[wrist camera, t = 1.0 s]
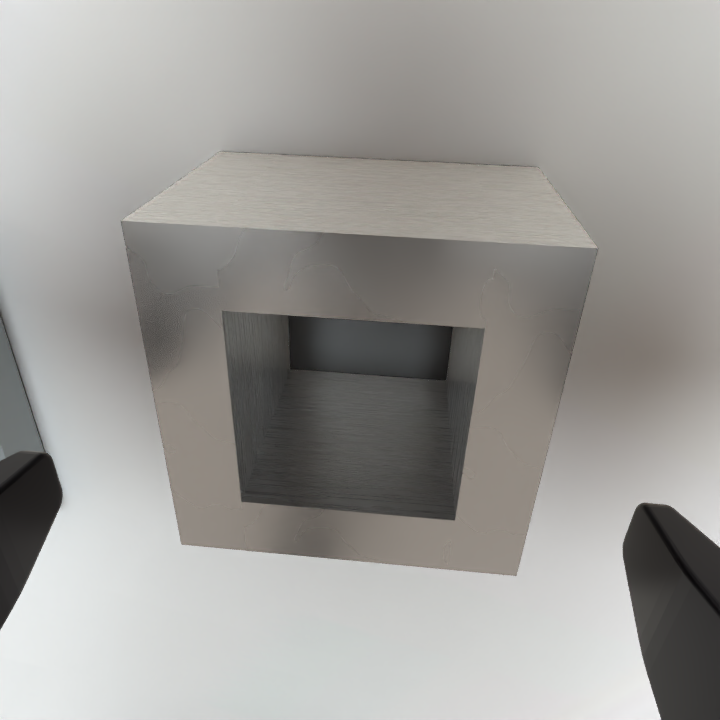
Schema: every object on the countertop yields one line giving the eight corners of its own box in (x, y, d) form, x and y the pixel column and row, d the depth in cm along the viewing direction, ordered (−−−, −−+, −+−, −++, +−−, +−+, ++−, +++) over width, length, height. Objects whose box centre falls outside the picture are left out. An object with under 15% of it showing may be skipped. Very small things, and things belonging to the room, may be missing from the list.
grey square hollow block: (491, 426, 16) (516, 576, 12) (243, 407, 17) (181, 544, 12) (538, 167, 13) (598, 248, 8) (220, 151, 13) (121, 221, 9)
